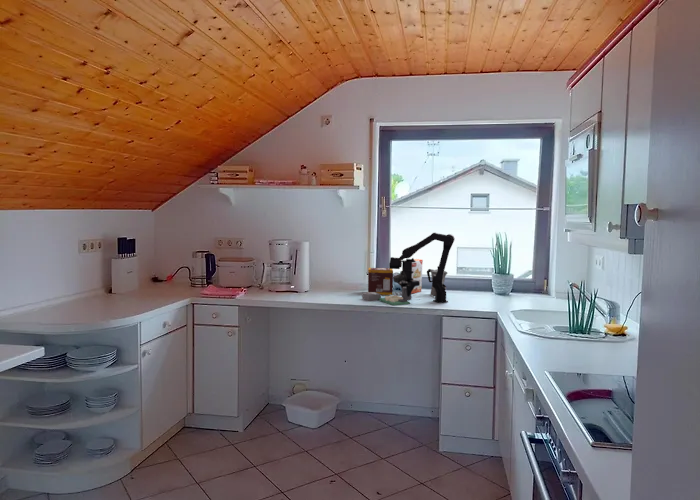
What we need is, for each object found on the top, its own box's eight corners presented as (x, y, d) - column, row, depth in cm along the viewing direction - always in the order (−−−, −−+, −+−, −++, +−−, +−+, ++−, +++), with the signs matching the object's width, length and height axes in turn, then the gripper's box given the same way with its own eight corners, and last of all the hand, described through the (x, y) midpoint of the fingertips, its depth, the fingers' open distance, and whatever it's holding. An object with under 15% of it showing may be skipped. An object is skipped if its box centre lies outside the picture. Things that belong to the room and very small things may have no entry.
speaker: (380, 300, 294) (381, 293, 293) (368, 301, 290) (368, 294, 290) (374, 297, 301) (374, 291, 301) (362, 298, 297) (362, 292, 297)
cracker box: (411, 294, 314) (411, 261, 312) (402, 293, 318) (403, 260, 316) (422, 291, 325) (423, 259, 323) (413, 290, 329) (414, 258, 327)
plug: (411, 299, 296) (411, 287, 295) (404, 300, 294) (404, 287, 293) (407, 298, 300) (407, 286, 299) (400, 299, 298) (401, 286, 297)
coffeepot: (451, 295, 312) (452, 266, 310) (441, 297, 305) (442, 268, 303) (430, 292, 323) (431, 264, 321) (421, 294, 316) (422, 265, 314)
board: (409, 304, 284) (409, 298, 283) (393, 305, 279) (393, 299, 279) (394, 299, 298) (394, 293, 298) (378, 300, 293) (378, 294, 293)
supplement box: (367, 291, 322) (368, 267, 320) (392, 292, 321) (392, 267, 320) (367, 294, 312) (368, 269, 310) (392, 295, 311) (393, 270, 310)
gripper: (387, 268, 300) (386, 294, 301) (404, 272, 283) (403, 299, 285) (403, 267, 305) (402, 292, 306) (420, 271, 288) (419, 298, 290)
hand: (406, 295), depth 297 cm, fingers closed on plug, 4 cm apart
